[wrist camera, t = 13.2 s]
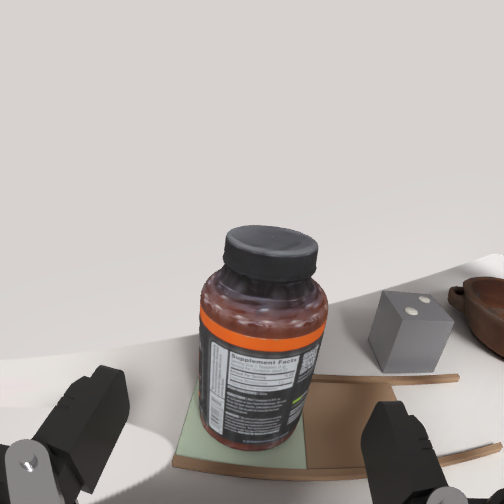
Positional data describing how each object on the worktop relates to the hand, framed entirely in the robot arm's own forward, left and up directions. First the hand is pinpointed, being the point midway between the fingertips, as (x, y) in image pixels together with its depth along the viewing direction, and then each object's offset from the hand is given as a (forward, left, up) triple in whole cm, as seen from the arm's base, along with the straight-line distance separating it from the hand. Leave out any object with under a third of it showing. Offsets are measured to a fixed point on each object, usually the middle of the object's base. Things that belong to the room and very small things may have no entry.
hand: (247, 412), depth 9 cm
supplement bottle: (0, -6, -8) cm, 10 cm away
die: (-13, -15, -8) cm, 21 cm away
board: (-7, -7, -8) cm, 12 cm away
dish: (-31, -17, -8) cm, 36 cm away
